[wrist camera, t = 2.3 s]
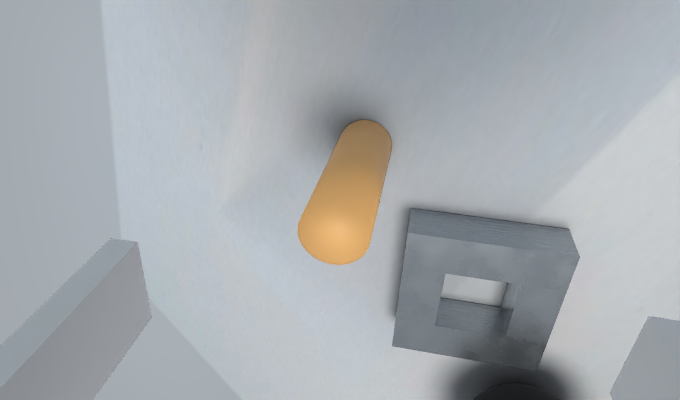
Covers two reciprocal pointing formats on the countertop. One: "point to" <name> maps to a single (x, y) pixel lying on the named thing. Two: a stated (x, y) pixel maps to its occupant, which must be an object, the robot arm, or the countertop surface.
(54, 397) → the robot arm
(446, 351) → the grey peg socket
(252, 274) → the countertop surface
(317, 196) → the orange cylindrical peg
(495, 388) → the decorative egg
